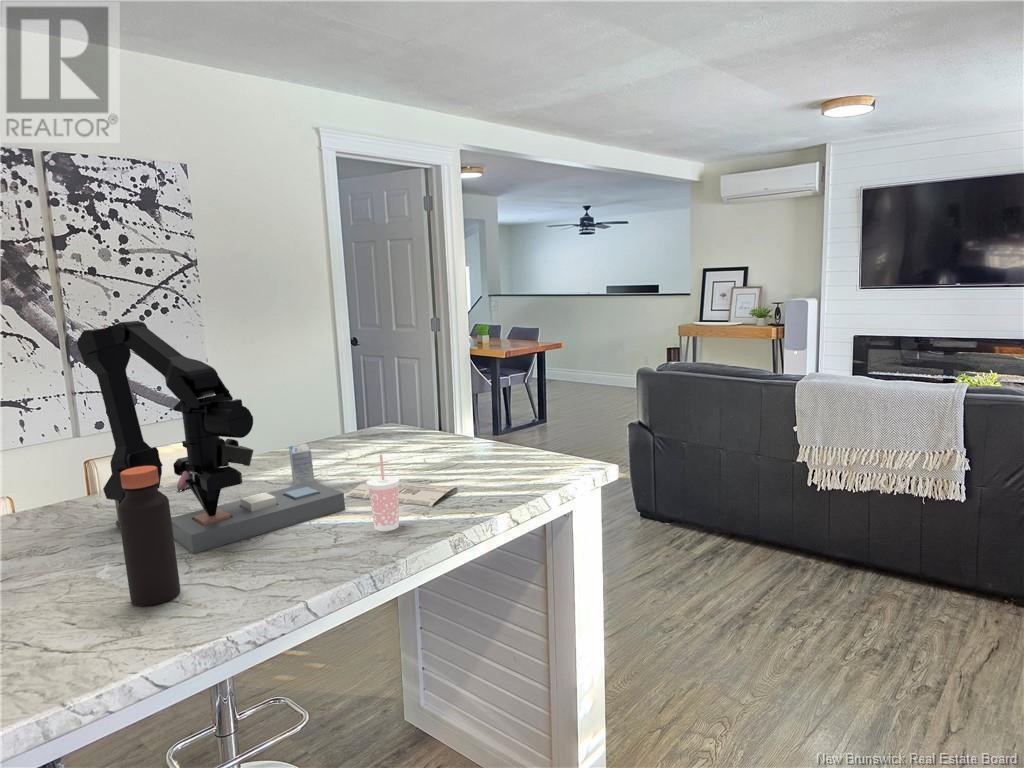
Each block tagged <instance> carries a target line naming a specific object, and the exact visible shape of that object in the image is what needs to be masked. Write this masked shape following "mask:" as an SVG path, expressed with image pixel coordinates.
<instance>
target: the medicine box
mask: <svg viewBox="0 0 1024 768" xmlns="http://www.w3.org/2000/svg"><path fill="white" fill-rule="evenodd" d="M288 448H289V459H290V466H291V467H290V468H291V469H290V470H291V476H292V478H291V479H292V481H293V484H294V485H293V486H297V485H301V484H305V483H309V482H312V481H314V482H315V475H314V474H315V473H314V466H313V457H312V451H311V449H310V447H309V444H308V443H303V444H294V445H290V446H289V447H288Z"/></svg>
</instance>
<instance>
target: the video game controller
mask: <svg viewBox="0 0 1024 768" xmlns="http://www.w3.org/2000/svg"><path fill="white" fill-rule="evenodd" d="M219 468H222V467H219ZM188 479H190V477H189V473H188V472H187V471H184V472H183V474H182V475H181V476H179V480H177V481H178V482H177V485H176V489H177V491H178V492H179V491H180V490H183V489H184V490H185V489H186V488H187V487H188V484H187V483H186V482H185V480H188ZM184 490H183V491H184Z"/></svg>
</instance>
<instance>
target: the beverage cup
mask: <svg viewBox="0 0 1024 768" xmlns="http://www.w3.org/2000/svg"><path fill="white" fill-rule="evenodd" d="M379 462H380V463H379V465H380V474H381V476H378V477H372V478H370V479H368V480H366V481H367V488H369V494H370V500H369V501H370V507H371V514H372V521H373V527H374V530H375V531H379V532H389V531H393V530H396V529H397V528H399V526H400V521H399V519H400V518H399V517H400V512H399V509H400V508H399V504H400V503H399V501H398V485H399V484H400V483H399V482H400V478H399V477H398V476H392V475H385V473H384V460H383V454H379Z"/></svg>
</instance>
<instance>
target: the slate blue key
mask: <svg viewBox="0 0 1024 768" xmlns="http://www.w3.org/2000/svg"><path fill="white" fill-rule="evenodd" d="M316 494H319V492H318V491H317V490H314V489H312V488H309V487H304V488H300V489H296V490H292V491H288V492H285V496H286V497H289V498H291V499H293V500H298V499H301V498H305V497H309V496H313V495H316Z"/></svg>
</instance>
